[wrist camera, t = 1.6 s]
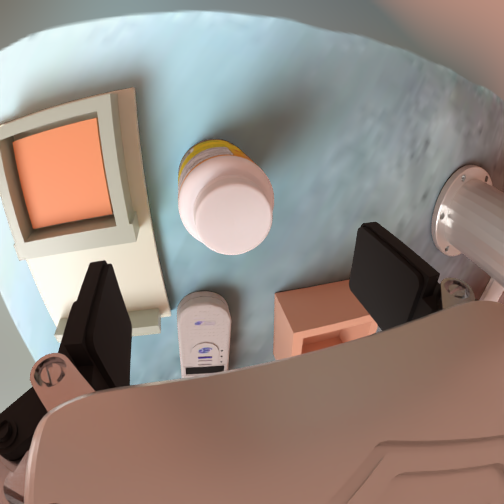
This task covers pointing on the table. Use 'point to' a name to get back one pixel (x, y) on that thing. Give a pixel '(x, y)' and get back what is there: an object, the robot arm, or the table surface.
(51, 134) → the cradle plate
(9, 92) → the table surface
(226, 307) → the electronic device
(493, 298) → the hard drive
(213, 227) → the supplement bottle
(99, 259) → the cream tray with frame
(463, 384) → the robot arm
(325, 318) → the cup
